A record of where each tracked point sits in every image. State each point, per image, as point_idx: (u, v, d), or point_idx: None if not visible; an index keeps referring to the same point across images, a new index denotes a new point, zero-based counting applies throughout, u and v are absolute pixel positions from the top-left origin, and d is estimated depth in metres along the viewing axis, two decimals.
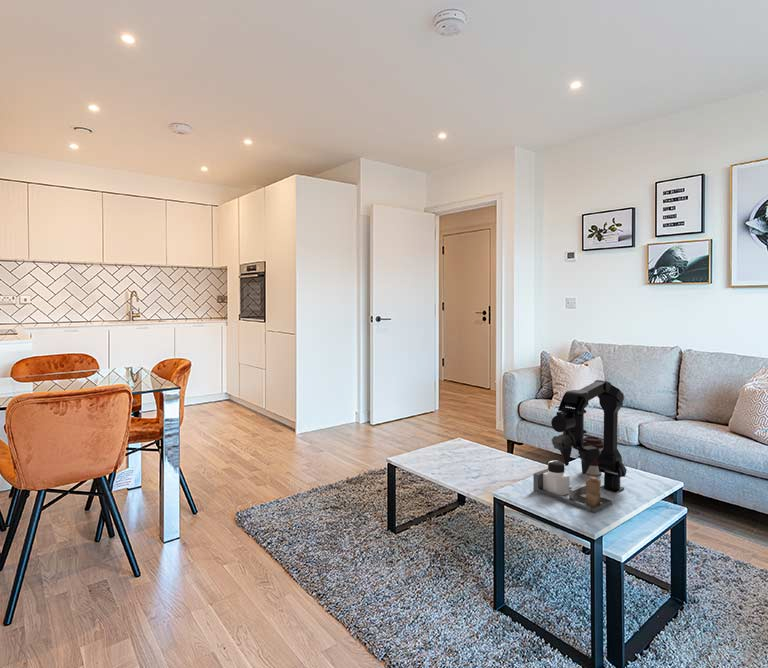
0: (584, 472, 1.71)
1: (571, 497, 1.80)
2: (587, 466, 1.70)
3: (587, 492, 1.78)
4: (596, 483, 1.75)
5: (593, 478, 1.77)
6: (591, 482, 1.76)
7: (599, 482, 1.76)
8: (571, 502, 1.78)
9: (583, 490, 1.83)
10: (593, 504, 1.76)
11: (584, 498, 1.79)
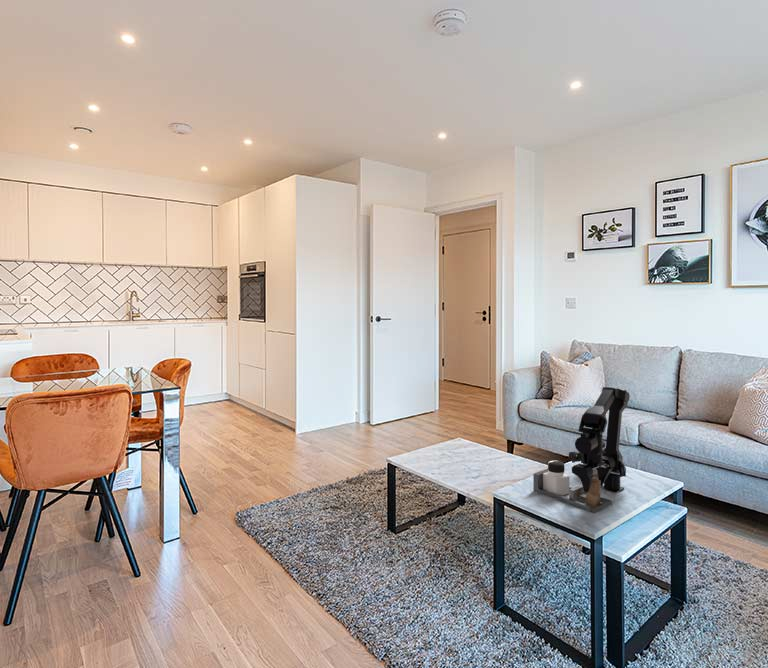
0: (585, 490, 1.75)
1: (571, 497, 1.80)
2: (586, 485, 1.74)
3: None
4: (596, 483, 1.75)
5: (593, 478, 1.77)
6: (591, 482, 1.76)
7: (599, 482, 1.76)
8: (571, 502, 1.78)
9: (583, 490, 1.83)
10: (593, 504, 1.76)
11: (584, 498, 1.79)
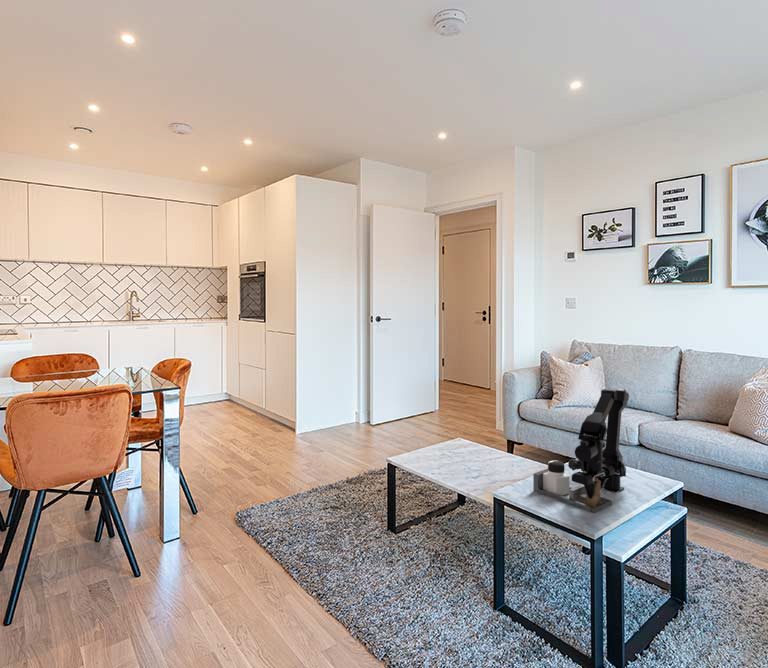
0: (589, 496, 1.76)
1: (571, 497, 1.80)
2: (590, 491, 1.75)
3: None
4: None
5: None
6: None
7: (599, 482, 1.76)
8: (571, 502, 1.78)
9: (583, 490, 1.83)
10: (593, 504, 1.76)
11: (584, 498, 1.79)
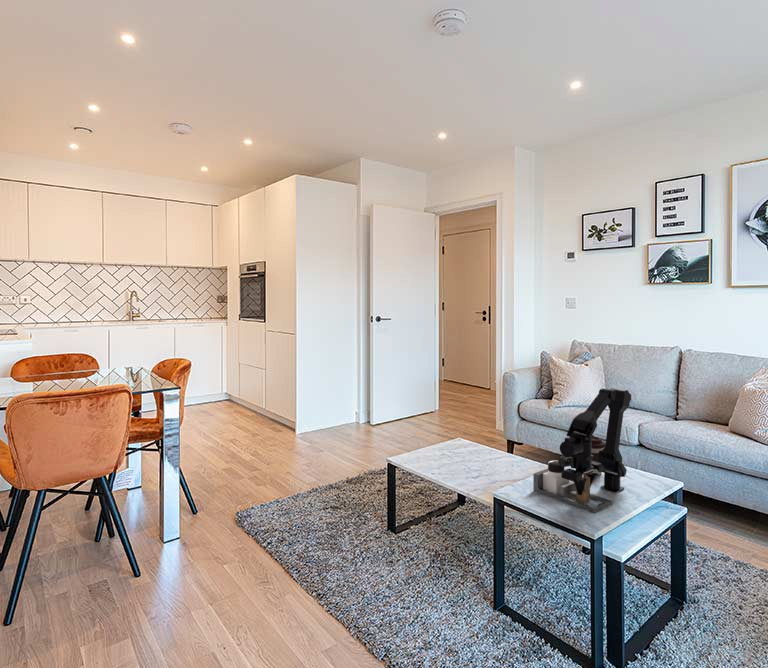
0: (578, 493, 1.80)
1: (561, 494, 1.83)
2: (579, 488, 1.79)
3: None
4: None
5: None
6: None
7: (589, 479, 1.80)
8: (571, 502, 1.78)
9: (573, 487, 1.87)
10: (583, 500, 1.79)
11: (574, 495, 1.82)
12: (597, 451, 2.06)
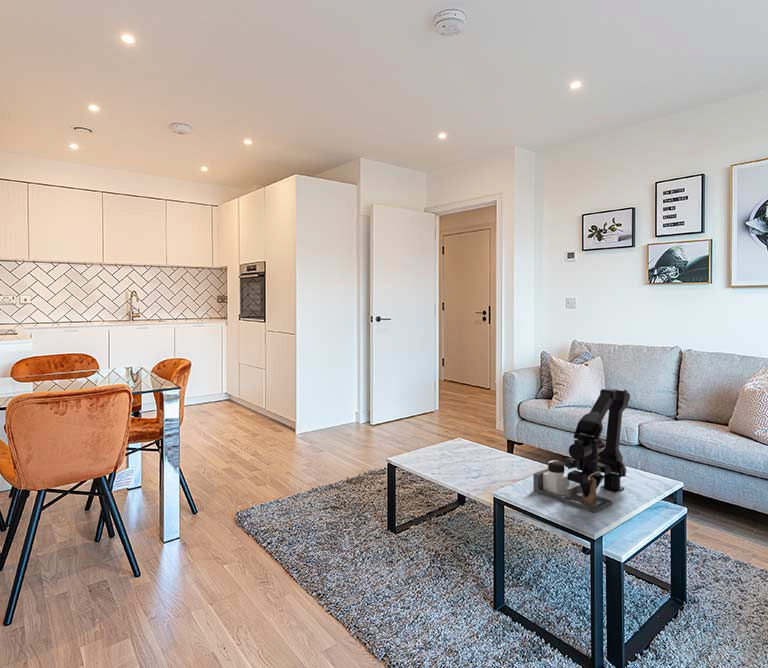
0: (585, 495, 1.78)
1: (567, 496, 1.81)
2: (585, 490, 1.77)
3: None
4: None
5: None
6: None
7: (595, 481, 1.78)
8: (571, 502, 1.78)
9: (579, 489, 1.85)
10: (589, 503, 1.77)
11: (580, 497, 1.81)
12: None
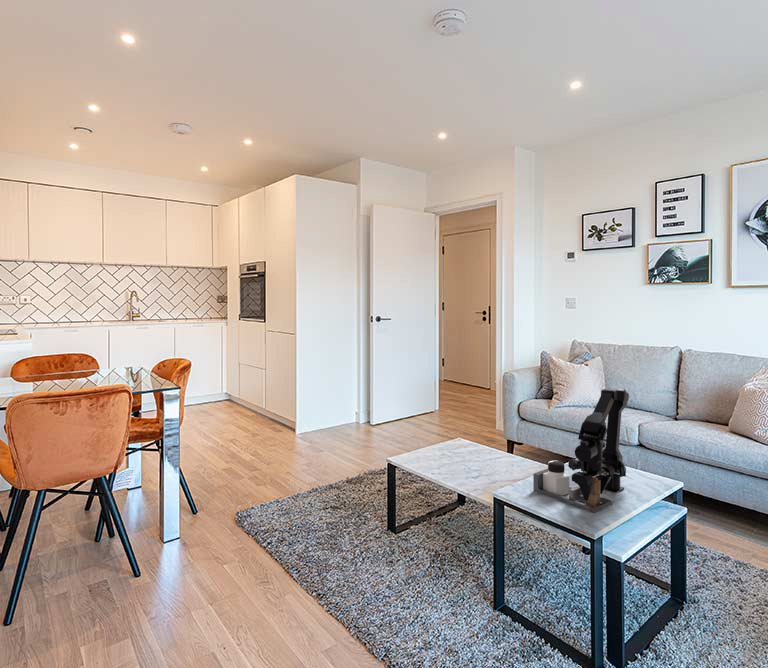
0: (585, 498, 1.75)
1: (571, 497, 1.80)
2: (585, 493, 1.74)
3: None
4: (596, 483, 1.75)
5: (593, 478, 1.77)
6: None
7: (599, 482, 1.76)
8: (571, 502, 1.78)
9: None
10: (593, 504, 1.76)
11: None
12: None
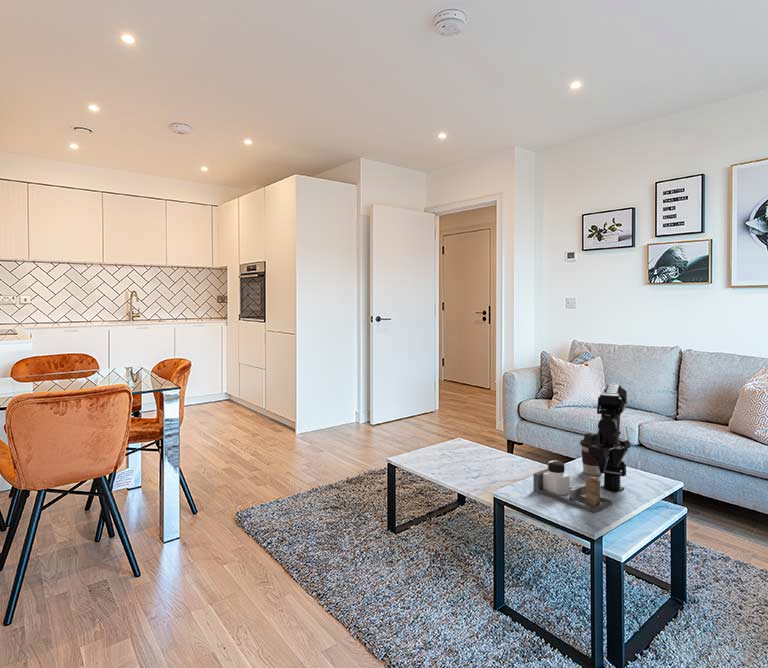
0: (601, 471, 1.77)
1: (571, 497, 1.80)
2: (602, 466, 1.76)
3: (587, 492, 1.78)
4: (596, 483, 1.75)
5: (593, 478, 1.77)
6: (591, 482, 1.76)
7: (599, 482, 1.76)
8: (571, 502, 1.78)
9: (582, 490, 1.83)
10: (593, 504, 1.76)
11: (584, 498, 1.79)
12: None
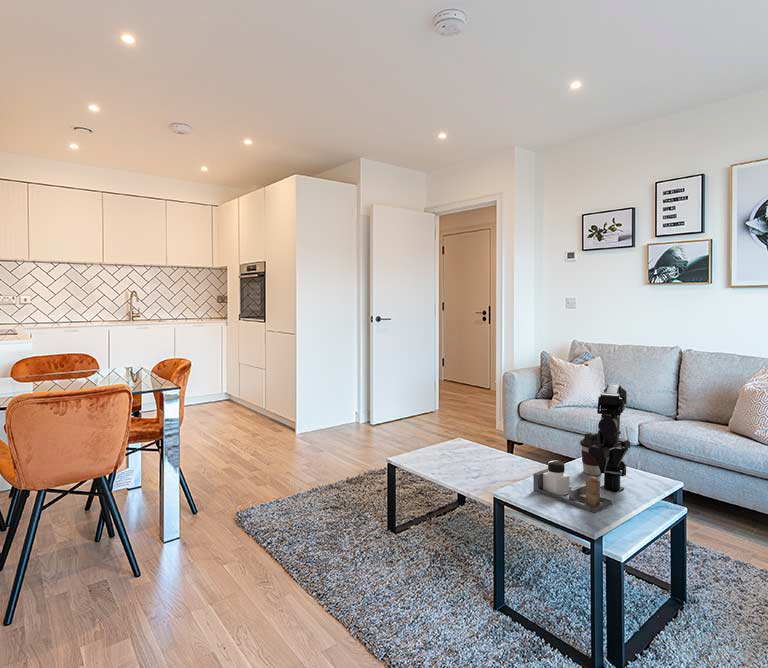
0: (601, 471, 1.77)
1: (571, 497, 1.80)
2: (602, 465, 1.76)
3: (587, 492, 1.78)
4: (596, 483, 1.75)
5: (593, 478, 1.77)
6: (591, 482, 1.76)
7: (599, 482, 1.76)
8: (571, 502, 1.78)
9: (582, 490, 1.83)
10: (593, 504, 1.76)
11: (584, 498, 1.79)
12: None
